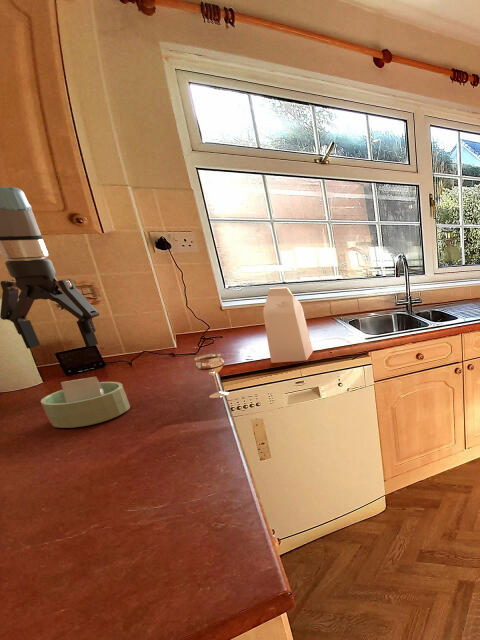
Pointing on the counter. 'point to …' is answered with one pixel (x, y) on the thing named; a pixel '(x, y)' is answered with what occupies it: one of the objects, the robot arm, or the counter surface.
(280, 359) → the milk
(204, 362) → the wineglass
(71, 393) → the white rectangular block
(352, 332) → the counter surface
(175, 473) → the counter surface
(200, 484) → the counter surface
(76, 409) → the bowl
